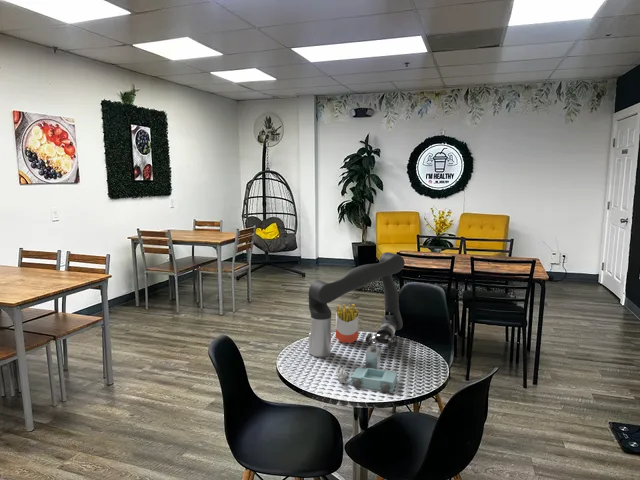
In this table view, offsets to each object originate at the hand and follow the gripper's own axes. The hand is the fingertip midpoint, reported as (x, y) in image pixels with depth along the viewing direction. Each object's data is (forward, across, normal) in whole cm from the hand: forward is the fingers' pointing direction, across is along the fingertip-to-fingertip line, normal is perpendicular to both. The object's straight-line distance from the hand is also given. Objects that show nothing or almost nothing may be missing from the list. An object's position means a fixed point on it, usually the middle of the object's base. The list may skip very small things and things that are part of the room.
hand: (379, 345), depth 189 cm
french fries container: (-17, -19, +7) cm, 26 cm away
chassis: (+22, +3, +6) cm, 23 cm away
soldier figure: (+24, -9, +6) cm, 27 cm away
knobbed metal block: (+11, 0, +6) cm, 13 cm away
